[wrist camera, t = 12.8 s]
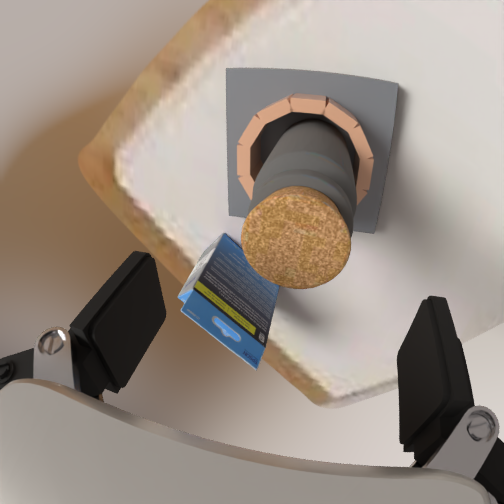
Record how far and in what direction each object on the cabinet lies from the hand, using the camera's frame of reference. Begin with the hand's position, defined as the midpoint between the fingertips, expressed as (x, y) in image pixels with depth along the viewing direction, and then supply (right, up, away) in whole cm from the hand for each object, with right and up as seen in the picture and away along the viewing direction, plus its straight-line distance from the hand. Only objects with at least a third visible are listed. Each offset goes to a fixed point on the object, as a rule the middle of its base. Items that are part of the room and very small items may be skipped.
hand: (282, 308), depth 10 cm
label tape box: (-2, 0, +25) cm, 25 cm away
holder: (+4, +11, +16) cm, 20 cm away
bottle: (+4, +10, +15) cm, 19 cm away
